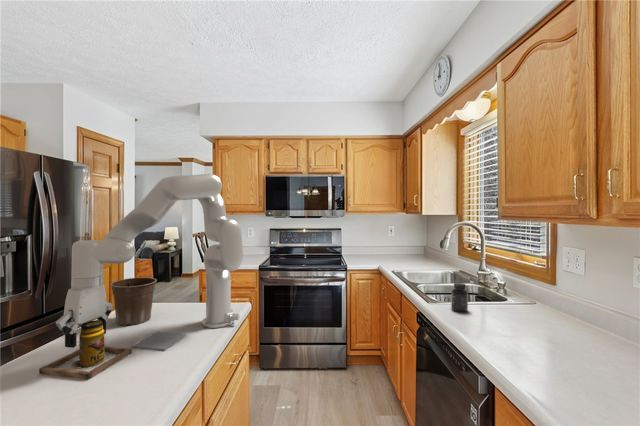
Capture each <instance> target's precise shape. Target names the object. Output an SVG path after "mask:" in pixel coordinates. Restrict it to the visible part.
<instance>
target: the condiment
mask: <svg viewBox="0 0 640 426" xmlns="http://www.w3.org/2000/svg"><path fill="white" fill-rule="evenodd" d="M78 339H79V341H78V343H79V345H78V346H79V348H78V350H79V356H78V357H79V359H75V360H71V363H70V367H69V370H77V371H82V370H86V369H92V368H96V367H98V366H100V365H101V364H103V363H105V362H107V353H104V346H105V334H104V330H103V322H102V321H100V320H98V319H94V320H91V321H89V322H86V323H83V324H80V334H79V337H78Z"/></svg>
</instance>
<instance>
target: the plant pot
mask: <svg viewBox="0 0 640 426" xmlns="http://www.w3.org/2000/svg"><path fill="white" fill-rule="evenodd" d="M156 283H157V278H154V277H130V278H123V279H119V280H116V281H112V282H111V283H110V287H111V290H112V295H113V300H114V311H115V313H114V314H115V322H116V324H117V325H118V326H125V327H126V326H128V325H131V326H136V325H140V323H141V324H143V323H146V322H148V321H150V319H151V318H152V308H153V299H154V292H155V289H156V288H155V287H156Z"/></svg>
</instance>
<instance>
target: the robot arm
mask: <svg viewBox="0 0 640 426" xmlns="http://www.w3.org/2000/svg"><path fill="white" fill-rule="evenodd" d="M222 189H223V183H222V180H221V178H220V177H219V176H217V175H215V174H213V173H206V174H205V173H204V174H203V173H202V174H189V175H172V176H166V177H163V178H161V179H160V180H159V181H158V182H157V183H156V184H155V185H154V187H153V188H151V190H150V191H149V192H148V193H147V194H146V196H144V197H143V199H142V200H141V201H140V202H139V204H138V205H136V206H135V208H133V209H132V210H131V211H129V213H128V214H126V215H125V216H124V217H122V219H121V220H119V221H118V222H117V223H116V224H115V225H114V226H113V227H112V228H111V229H110V230H109V232H108V233H107V234H106V235H105V236H104V237H103V238H102V239H101V240H97V239H94V240H93V239H92V240H91V239H90V240H77V241H75V242H73V244H72V247H71V283H70V284H71V285H70V286H71V287H70V288H69V289H68V290H67V294H66V298H65V302H64V303H65V304H64V310H63V315H62V316H60V318H59V319H57V320H56V321H55V324H56V327H57V328H58V330H59V331H60V332H61V333H62V334H64V347H65V348H70V349H73V348H74V349H75V348H76V347H77V344H78V343H77V342H78V341H77V337H78V336H77V332H76V331H77V329H78V327H79V325H80V326H81V325H82V324H83V323H86V322H89V321H95V320H100V321H102V322H103V330H104V335H105V334H107V321H108V319H109V316H110V314H112V313H111V311H112V308H113V307H114V303H111V302H108V301H107V294H106V288H105V287H106V286H105V284H104V280H105V275H104V264H115V265H116V264H124V263H127V262H129V261H131V260H132V259H133V258H134V256H135V255H136V248H135V245H134V244H133V243H132V241H134V239H136V237H137V236H138V235H140V234H141V233H143V232H144V231H146V230H149V229H150V228H152V227H154V226H156V225H157V224H159V223H160V222H161V221H162V219H164V217H165V216H166V214H167V213H168V212H169V211H170V210H171V208H172V207H173V206H174V205H175V203H176V202H177V201H191V200H197V201H198V202H199V203H200V205H201V207H202V208H201V209H202V213H203V223H204V224H203V225H204V234H205V237H206V238H207V239H208V240H209V241H212V242H216V243H217V242H218V243H217V244H216V243H215V244H212V245H210V246H208V247H207V248H206V249H205V251H204V253H203V263H204V264H203V266H204V269H205V317H204V318H203V319H202V320H201V325H202V327H205V328H209V329H219V328H224V327H227V326H230V325H232V324H233V323H234V322H235V321H240V318H241V317H240V313H234V309H231V307H232V306H231V305H232V300H231V299H232V295H231V291H232V288H231V287H232V285H231V283H232V281H231V279H232V277H231V276H232V275H231V272H234V271H236V270H238V269H239V268H240V267H241V265H242V263H243V258H244V257H243V256H244V250H243V249H244V248H243V238H242V237H243V235H242V230H241V226H240V224H239V223H238V222H237V221H236V220H235V219H233V218H228V217H227V211H226V203H225V201H224V199H223V197H222V195H221V194H220V193H221V191H222Z"/></svg>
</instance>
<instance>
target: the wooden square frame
mask: <svg viewBox="0 0 640 426" xmlns="http://www.w3.org/2000/svg"><path fill="white" fill-rule="evenodd" d="M132 353H133V348H125V347H115V346H105V345H104V354H114V355H115V356H113V357H112V358H110V359H109V360H106V362H105V363H103V364H101V365H100V366H96V367H94V368H93V369H91V370H89V371H84V370H70V369H67V368H66V369H65V368H58V367H59V366H62V365H64V364H66V363H68V362H70V361H73V359H76V358H78V357H79V349H77V350H75V351H73V352H71V353H69V354H67V355H64V356H62V357H60V358H59V359H56V360H55V361H51V362H50V363H48V364H46V365H44V366H42V367H40V368H38V373H39V375H45V376H53V377H64V378H70V379H79V380H80V379H81V380H90V379H92V378H94V377H95V376H97V375H99V374H101V373H102V372H103V371H106V370H107V369H109V368H111V367H112V366H114V365H116V364H117V363H118V362H120V361H122V360H123V359H125V358H127V357H128V355H129V356H131V355H132Z"/></svg>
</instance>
